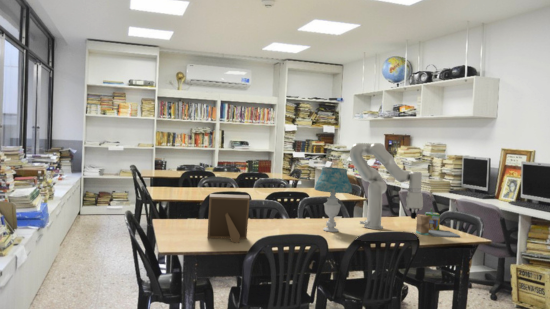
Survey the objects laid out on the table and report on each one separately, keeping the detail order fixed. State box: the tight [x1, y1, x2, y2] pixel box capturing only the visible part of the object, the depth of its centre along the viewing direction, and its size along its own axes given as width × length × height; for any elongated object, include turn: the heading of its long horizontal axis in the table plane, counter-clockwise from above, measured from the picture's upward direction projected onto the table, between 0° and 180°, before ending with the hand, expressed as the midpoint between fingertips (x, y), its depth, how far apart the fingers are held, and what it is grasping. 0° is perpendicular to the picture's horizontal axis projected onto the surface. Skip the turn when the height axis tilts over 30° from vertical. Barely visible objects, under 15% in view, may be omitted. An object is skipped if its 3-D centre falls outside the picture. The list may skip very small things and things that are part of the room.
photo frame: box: [207, 193, 251, 244], centre depth 257 cm, size 15×22×25 cm
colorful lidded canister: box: [424, 208, 441, 230], centre depth 321 cm, size 9×9×15 cm
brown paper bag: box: [415, 213, 430, 236], centre depth 305 cm, size 5×8×12 cm, turn 6°
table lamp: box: [314, 166, 353, 233], centre depth 298 cm, size 24×24×40 cm
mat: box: [428, 229, 461, 238], centre depth 307 cm, size 18×16×1 cm
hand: (413, 218), depth 304 cm, fingers closed
